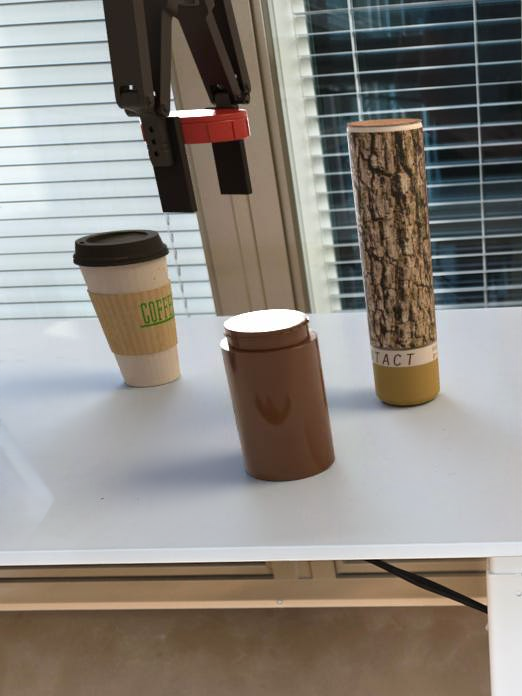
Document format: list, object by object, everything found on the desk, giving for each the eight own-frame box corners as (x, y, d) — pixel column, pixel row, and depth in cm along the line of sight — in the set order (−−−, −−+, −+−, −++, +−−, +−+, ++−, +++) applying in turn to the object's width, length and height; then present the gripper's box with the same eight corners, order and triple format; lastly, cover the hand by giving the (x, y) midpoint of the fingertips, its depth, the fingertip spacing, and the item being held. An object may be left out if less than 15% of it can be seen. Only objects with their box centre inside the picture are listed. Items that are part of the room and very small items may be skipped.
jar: (243, 485, 76) (212, 338, 69) (247, 450, 83) (219, 312, 76) (336, 475, 77) (315, 329, 70) (333, 441, 84) (314, 304, 76)
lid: (218, 132, 76) (213, 107, 75) (270, 136, 71) (266, 110, 70) (126, 141, 71) (120, 115, 70) (175, 147, 66) (169, 119, 65)
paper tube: (404, 382, 97) (380, 118, 83) (453, 392, 93) (437, 118, 79) (362, 401, 92) (329, 125, 78) (413, 412, 89) (388, 126, 75)
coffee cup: (209, 379, 101) (177, 236, 92) (122, 398, 96) (80, 251, 88) (180, 359, 107) (149, 224, 99) (98, 376, 103) (57, 237, 94)
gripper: (90, -197, 51) (179, 227, 64) (262, -146, 68) (306, 183, 81) (-15, -184, 53) (92, 225, 66) (177, -138, 70) (233, 183, 83)
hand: (209, 202), depth 74 cm, fingers closed on lid, 8 cm apart
